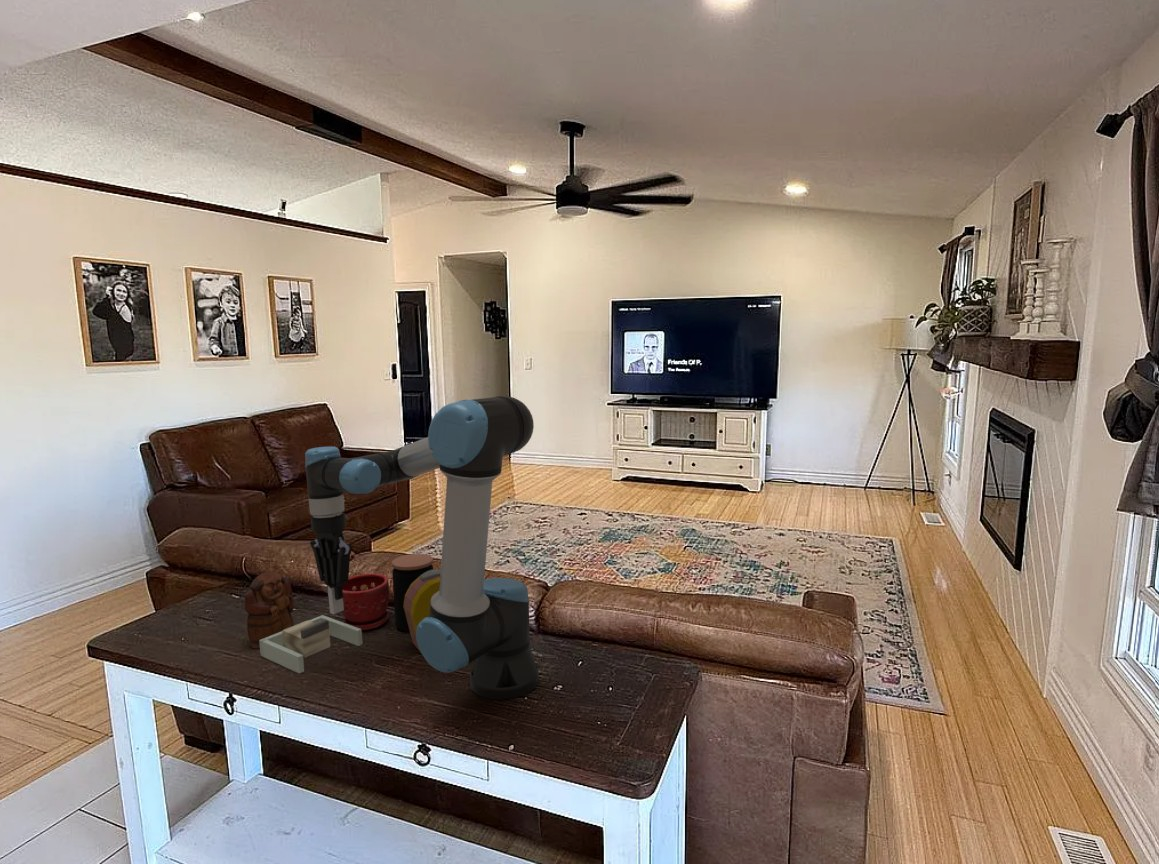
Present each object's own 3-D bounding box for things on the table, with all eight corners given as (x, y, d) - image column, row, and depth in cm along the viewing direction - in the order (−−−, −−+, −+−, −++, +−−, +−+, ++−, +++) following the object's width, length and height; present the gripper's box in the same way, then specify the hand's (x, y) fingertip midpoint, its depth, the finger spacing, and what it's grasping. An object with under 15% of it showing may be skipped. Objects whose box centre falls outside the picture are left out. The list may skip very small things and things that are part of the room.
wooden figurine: (265, 652, 162) (259, 582, 160) (246, 648, 165) (239, 579, 162) (301, 632, 173) (295, 566, 171) (282, 628, 176) (276, 564, 173)
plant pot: (351, 614, 185) (348, 573, 183) (397, 614, 184) (394, 572, 182) (331, 634, 172) (328, 590, 170) (381, 634, 171) (378, 590, 169)
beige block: (330, 647, 165) (328, 620, 164) (305, 658, 159) (303, 631, 158) (309, 638, 170) (307, 612, 169) (284, 649, 164) (281, 622, 163)
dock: (362, 644, 166) (361, 629, 165) (299, 673, 151) (298, 657, 151) (323, 629, 175) (322, 615, 174) (260, 655, 161) (259, 640, 160)
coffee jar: (426, 634, 170) (422, 567, 168) (388, 631, 173) (384, 565, 170) (442, 617, 181) (439, 554, 178) (406, 615, 183) (403, 552, 180)
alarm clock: (460, 629, 174) (457, 561, 171) (473, 640, 167) (470, 570, 164) (404, 643, 166) (400, 573, 163) (415, 656, 159) (411, 583, 156)
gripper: (359, 513, 152) (367, 611, 154) (325, 507, 159) (333, 601, 162) (330, 520, 145) (340, 622, 148) (296, 514, 153) (306, 612, 156)
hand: (337, 611), depth 155 cm, fingers closed
